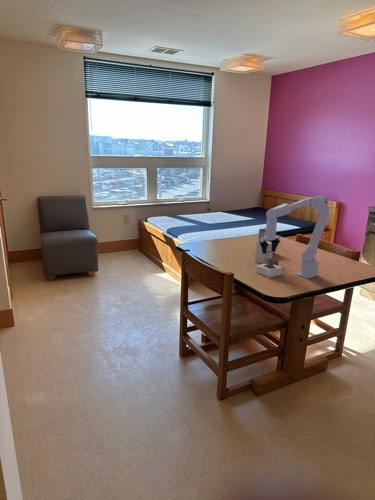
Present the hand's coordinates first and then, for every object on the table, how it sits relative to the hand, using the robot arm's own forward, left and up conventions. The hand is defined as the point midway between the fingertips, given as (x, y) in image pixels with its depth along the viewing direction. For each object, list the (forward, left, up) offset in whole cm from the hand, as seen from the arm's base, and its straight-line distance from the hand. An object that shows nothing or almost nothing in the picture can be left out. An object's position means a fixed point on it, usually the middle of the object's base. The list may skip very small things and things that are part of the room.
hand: (268, 252), depth 200 cm
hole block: (+6, +7, -9) cm, 13 cm away
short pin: (-5, +1, -10) cm, 11 cm away
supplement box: (-6, -9, -10) cm, 14 cm away
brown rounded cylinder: (+6, +7, -9) cm, 13 cm away
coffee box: (-23, -24, -10) cm, 35 cm away
